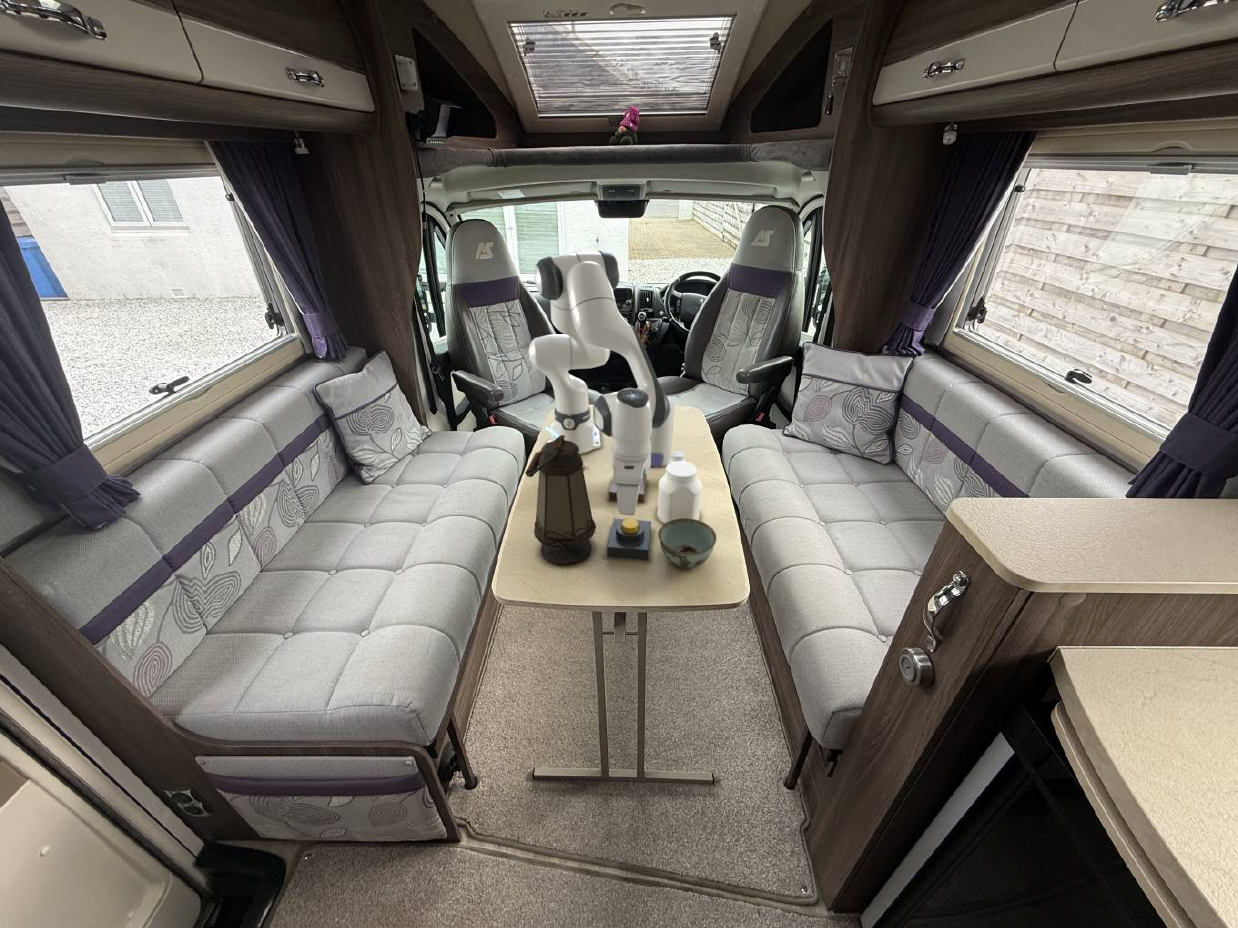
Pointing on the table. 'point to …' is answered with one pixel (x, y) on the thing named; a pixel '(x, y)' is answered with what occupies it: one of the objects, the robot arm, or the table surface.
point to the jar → (679, 492)
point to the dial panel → (640, 496)
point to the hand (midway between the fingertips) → (630, 508)
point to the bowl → (686, 542)
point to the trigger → (630, 526)
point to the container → (662, 441)
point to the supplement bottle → (677, 456)
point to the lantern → (562, 504)
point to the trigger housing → (629, 541)
